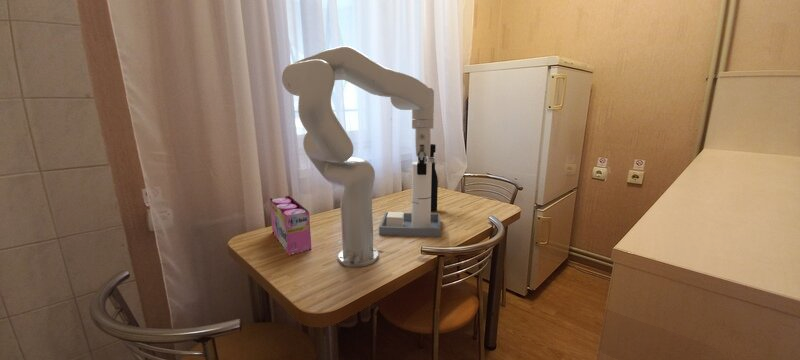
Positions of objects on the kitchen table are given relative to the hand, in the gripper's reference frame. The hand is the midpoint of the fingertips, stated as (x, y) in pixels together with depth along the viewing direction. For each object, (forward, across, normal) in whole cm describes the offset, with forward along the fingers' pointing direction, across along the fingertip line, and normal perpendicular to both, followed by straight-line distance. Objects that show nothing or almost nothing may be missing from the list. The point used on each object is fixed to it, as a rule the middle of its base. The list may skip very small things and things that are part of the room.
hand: (422, 171), depth 117 cm
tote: (+23, 0, +4) cm, 23 cm away
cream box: (+22, 0, +10) cm, 24 cm away
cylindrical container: (+22, 0, 0) cm, 22 cm away
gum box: (+23, -14, +46) cm, 53 cm away
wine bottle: (+23, +22, -3) cm, 32 cm away
